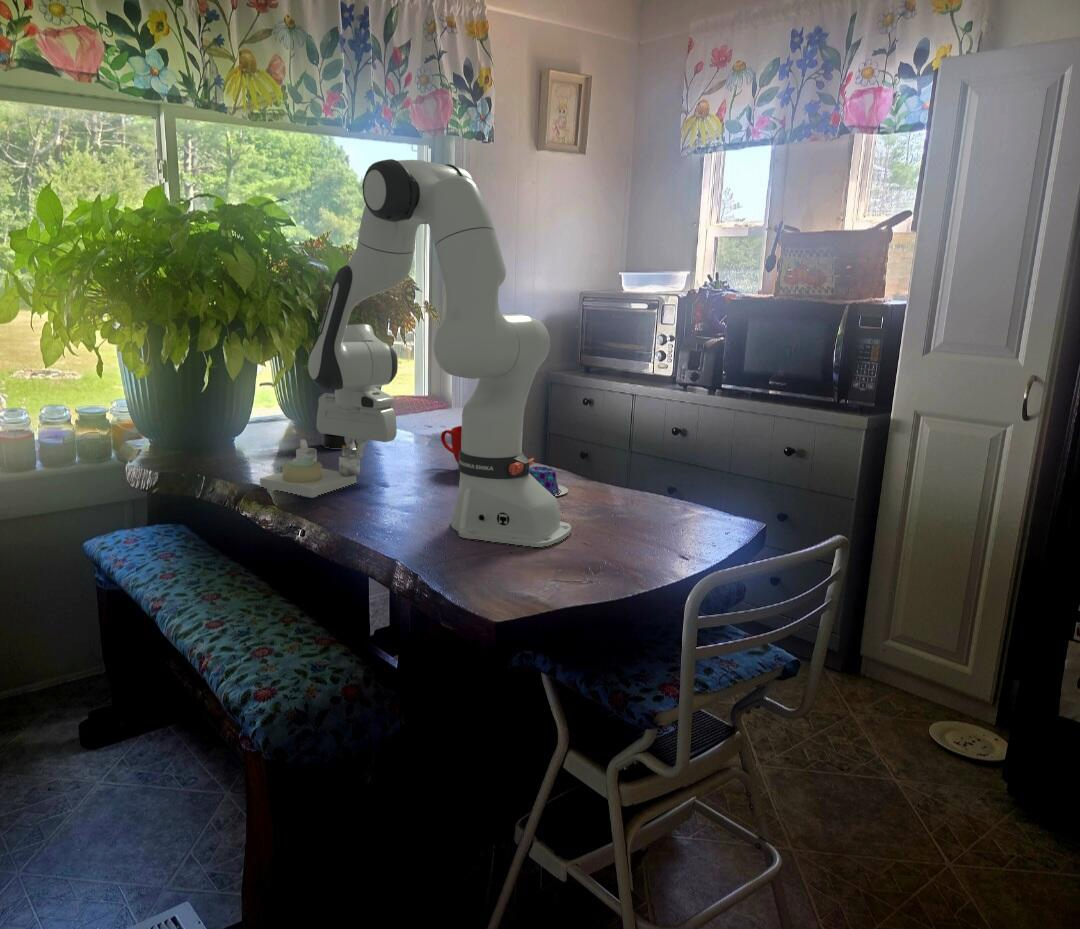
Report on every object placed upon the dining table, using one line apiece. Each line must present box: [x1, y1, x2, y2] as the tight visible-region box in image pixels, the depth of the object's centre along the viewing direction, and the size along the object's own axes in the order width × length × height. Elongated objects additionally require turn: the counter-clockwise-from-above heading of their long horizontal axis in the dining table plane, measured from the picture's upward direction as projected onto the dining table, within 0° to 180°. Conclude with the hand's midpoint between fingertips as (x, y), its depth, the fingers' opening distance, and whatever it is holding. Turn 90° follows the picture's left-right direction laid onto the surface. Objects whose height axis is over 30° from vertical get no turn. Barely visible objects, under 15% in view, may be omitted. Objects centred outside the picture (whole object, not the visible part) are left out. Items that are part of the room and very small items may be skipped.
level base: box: [259, 457, 357, 499], centre depth 172 cm, size 14×14×6 cm
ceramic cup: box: [440, 425, 462, 464], centre depth 191 cm, size 13×17×10 cm
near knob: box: [338, 446, 361, 476], centre depth 180 cm, size 15×4×4 cm, turn 18°
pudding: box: [529, 466, 569, 497], centre depth 176 cm, size 12×12×5 cm
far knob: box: [295, 438, 318, 461], centre depth 185 cm, size 15×4×4 cm, turn 20°
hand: (356, 456), depth 184 cm, fingers closed
